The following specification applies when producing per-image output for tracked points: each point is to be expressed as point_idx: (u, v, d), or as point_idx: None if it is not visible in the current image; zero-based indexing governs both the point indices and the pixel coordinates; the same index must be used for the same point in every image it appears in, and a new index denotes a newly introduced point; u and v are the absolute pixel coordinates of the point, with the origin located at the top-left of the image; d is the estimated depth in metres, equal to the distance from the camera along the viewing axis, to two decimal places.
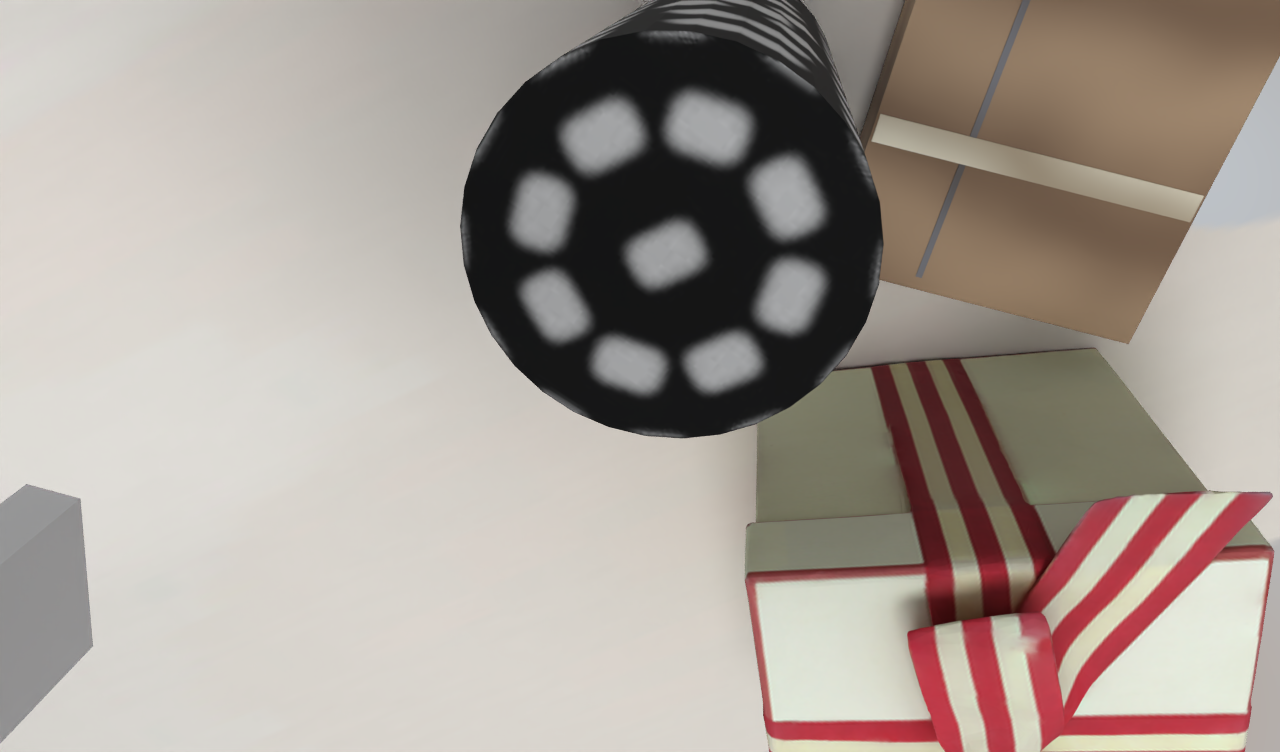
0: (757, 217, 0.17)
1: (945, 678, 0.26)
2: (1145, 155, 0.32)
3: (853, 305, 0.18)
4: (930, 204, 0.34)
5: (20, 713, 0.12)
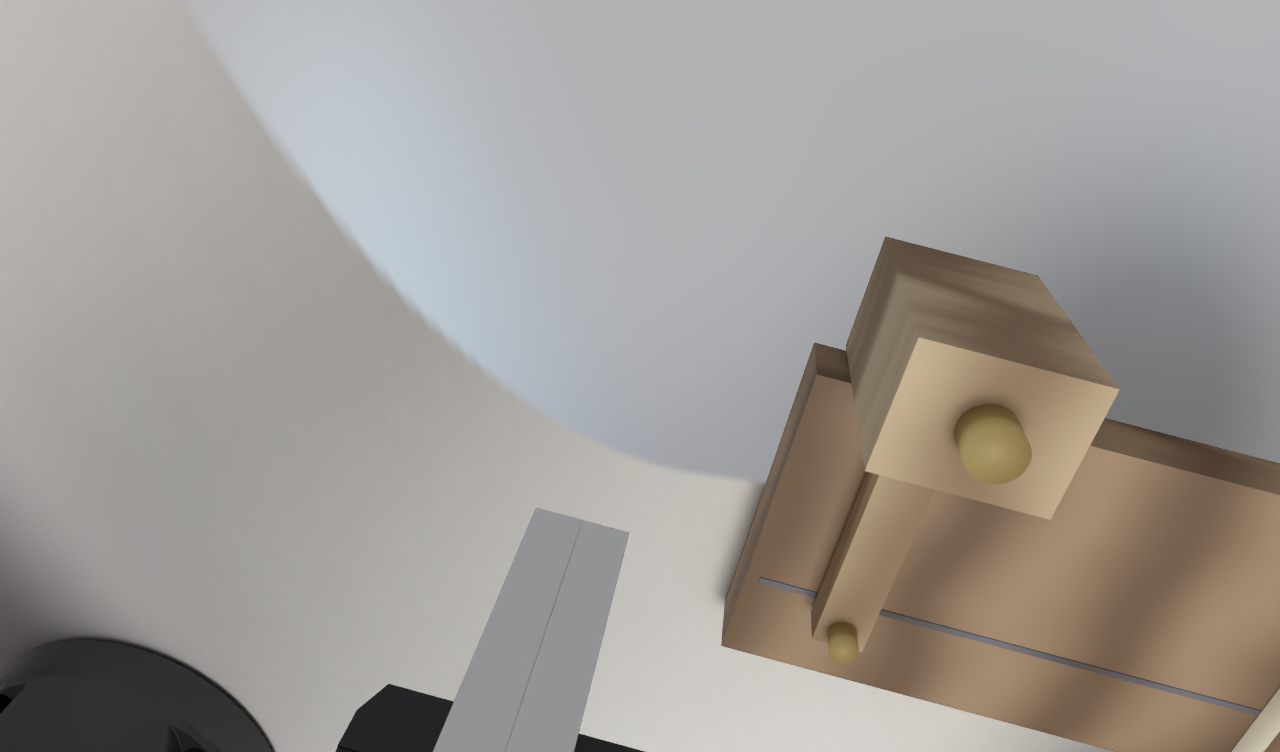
0: None
1: None
2: None
3: None
4: None
5: None
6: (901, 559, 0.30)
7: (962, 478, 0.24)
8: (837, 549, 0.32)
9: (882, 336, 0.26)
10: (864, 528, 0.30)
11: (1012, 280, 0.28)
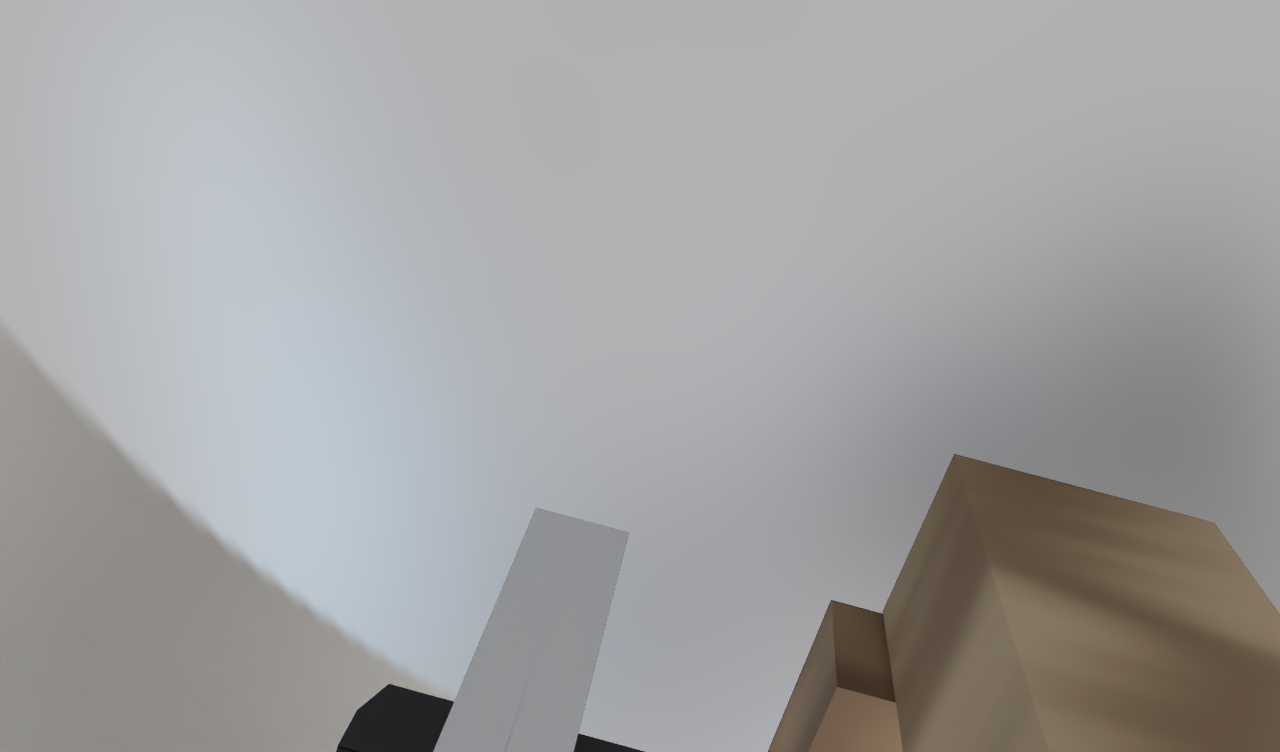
0: None
1: None
2: None
3: None
4: None
5: None
6: None
7: None
8: None
9: (963, 689, 0.14)
10: None
11: (1181, 546, 0.16)
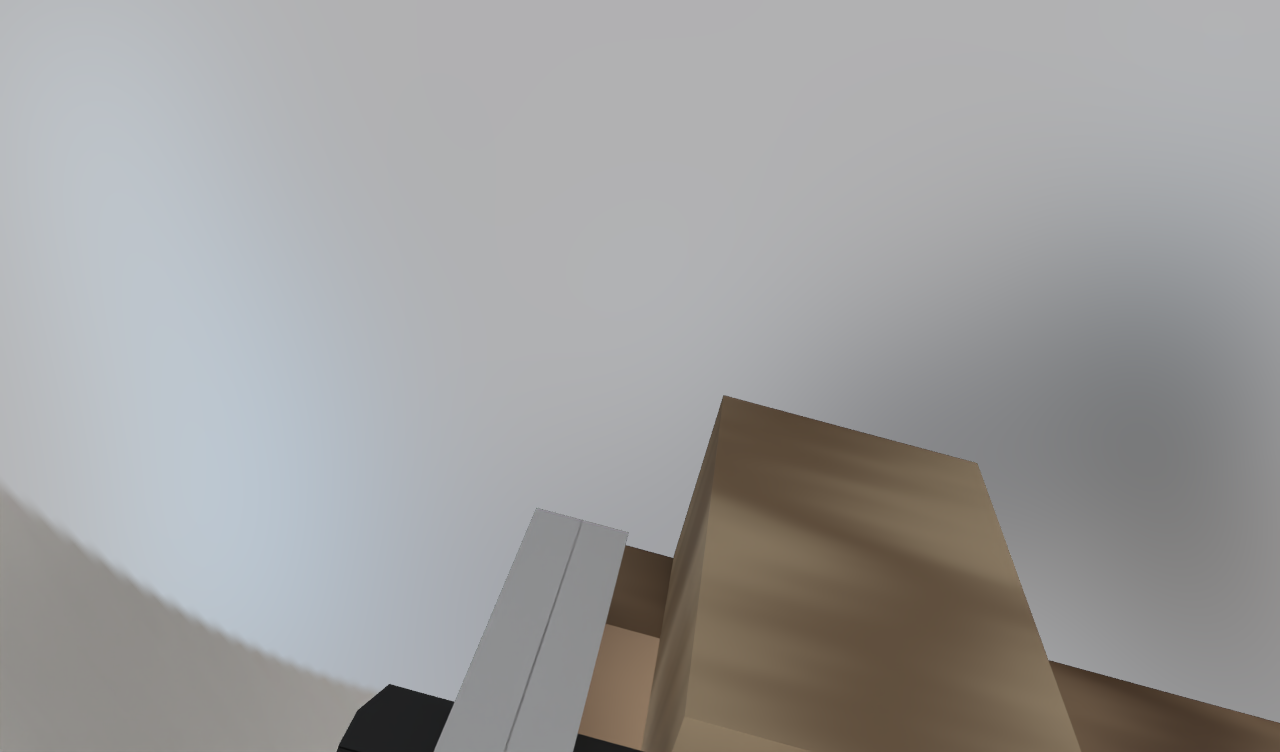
0: None
1: None
2: None
3: None
4: None
5: None
6: None
7: None
8: None
9: (681, 612, 0.14)
10: None
11: (928, 483, 0.16)
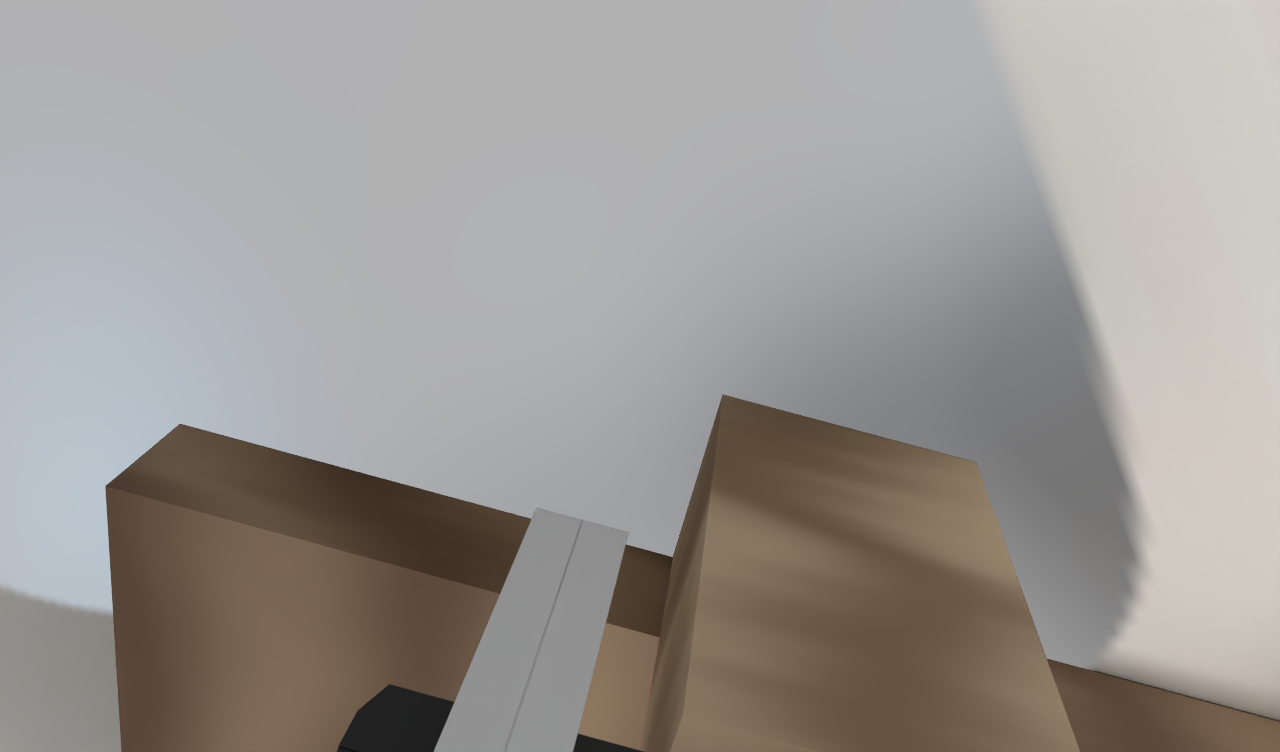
0: None
1: None
2: None
3: None
4: None
5: None
6: None
7: None
8: None
9: (680, 611, 0.14)
10: None
11: (927, 481, 0.16)
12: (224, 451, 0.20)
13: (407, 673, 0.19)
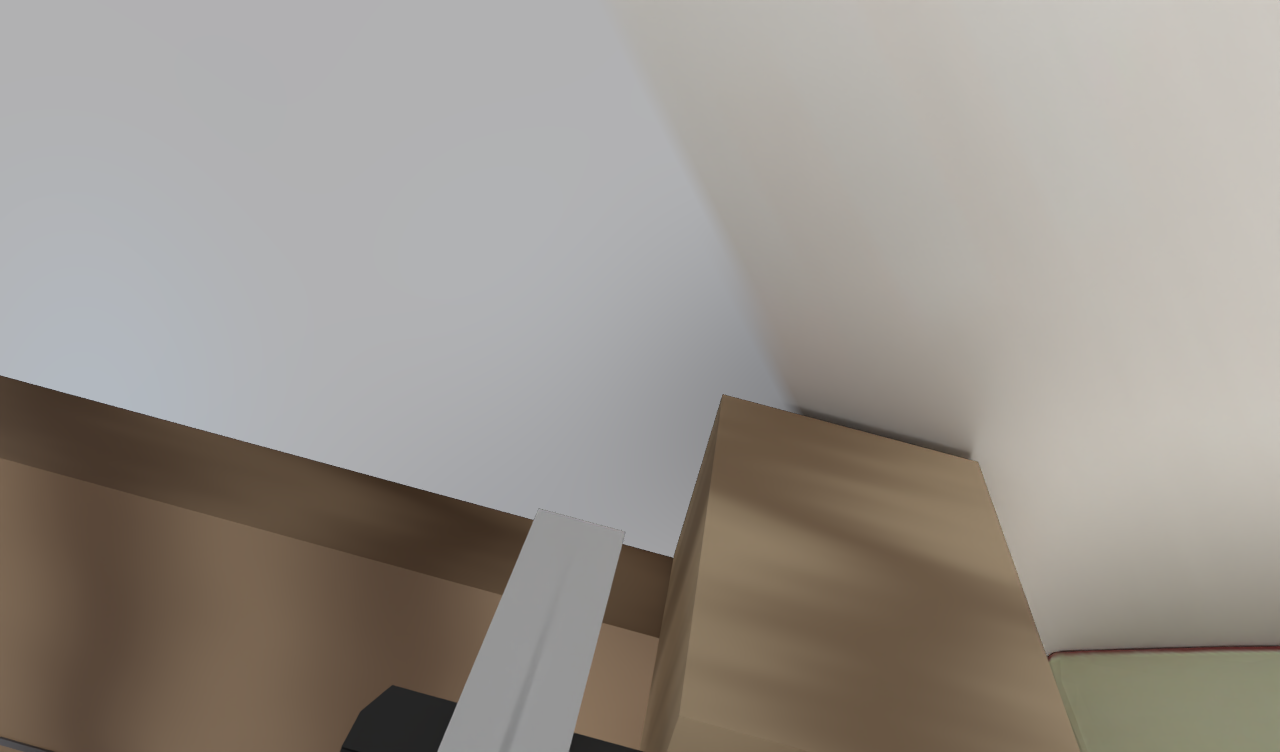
0: None
1: None
2: (634, 731, 0.19)
3: None
4: None
5: None
6: None
7: None
8: None
9: (679, 611, 0.14)
10: None
11: (929, 482, 0.16)
12: None
13: (88, 585, 0.19)
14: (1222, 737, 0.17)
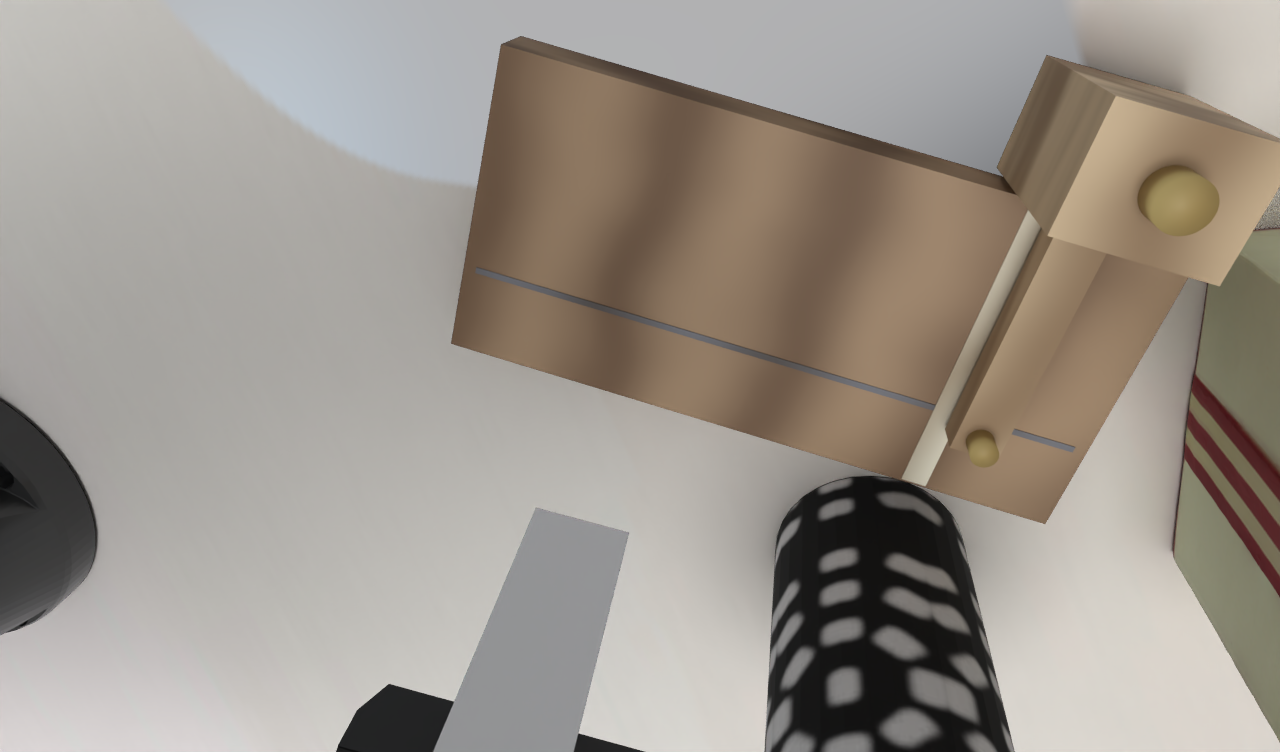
0: None
1: None
2: (977, 262, 0.32)
3: None
4: None
5: None
6: (1046, 364, 0.32)
7: (1140, 243, 0.26)
8: (978, 362, 0.34)
9: (1056, 127, 0.28)
10: (1013, 331, 0.32)
11: (1170, 93, 0.30)
12: (551, 47, 0.34)
13: (658, 171, 0.33)
14: None
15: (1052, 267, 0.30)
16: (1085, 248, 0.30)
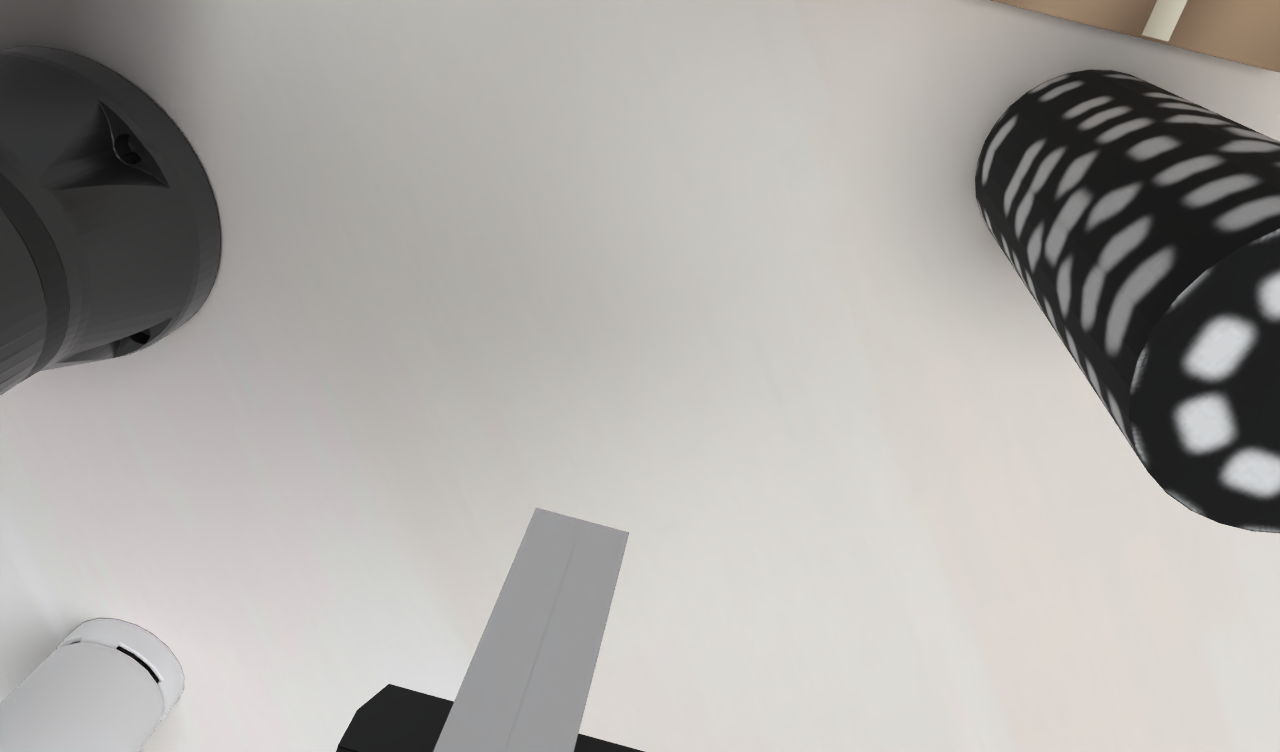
0: None
1: None
2: None
3: None
4: None
5: None
6: None
7: None
8: None
9: None
10: None
11: None
12: None
13: None
14: None
15: None
16: None
